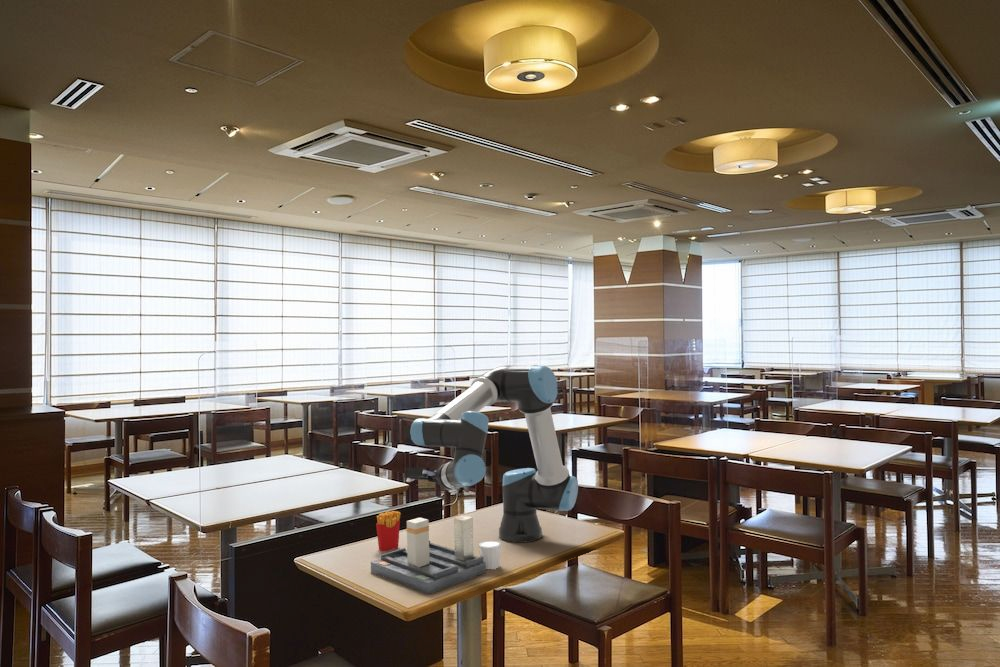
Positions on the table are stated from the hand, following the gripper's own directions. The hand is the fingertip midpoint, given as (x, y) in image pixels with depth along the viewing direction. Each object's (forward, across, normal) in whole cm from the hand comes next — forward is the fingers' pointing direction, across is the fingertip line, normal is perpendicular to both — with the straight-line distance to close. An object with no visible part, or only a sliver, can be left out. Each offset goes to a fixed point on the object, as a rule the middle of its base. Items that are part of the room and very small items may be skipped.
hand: (429, 482), depth 199 cm
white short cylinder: (+2, +25, -20) cm, 32 cm away
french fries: (+34, +1, -19) cm, 39 cm away
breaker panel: (+6, +7, -25) cm, 26 cm away
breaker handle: (+4, +3, -23) cm, 24 cm away
